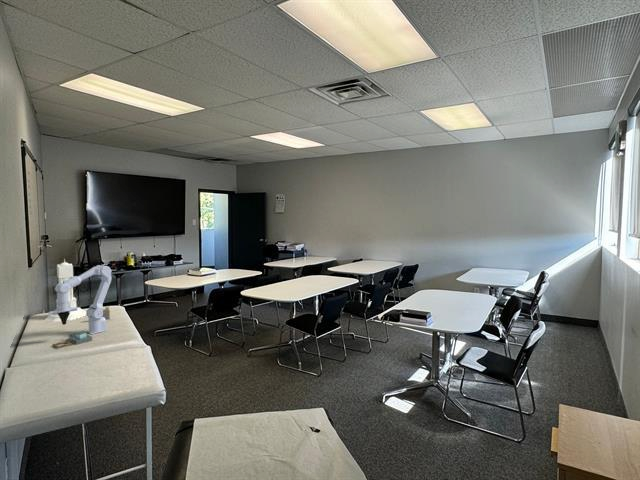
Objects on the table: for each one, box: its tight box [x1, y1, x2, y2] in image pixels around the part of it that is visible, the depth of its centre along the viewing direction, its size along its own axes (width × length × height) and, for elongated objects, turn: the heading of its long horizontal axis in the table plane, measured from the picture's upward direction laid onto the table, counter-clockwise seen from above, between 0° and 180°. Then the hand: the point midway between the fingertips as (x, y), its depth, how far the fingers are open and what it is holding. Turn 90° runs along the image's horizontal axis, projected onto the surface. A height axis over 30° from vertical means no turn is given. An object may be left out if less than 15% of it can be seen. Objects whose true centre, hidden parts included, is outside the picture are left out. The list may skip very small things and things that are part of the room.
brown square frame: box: [52, 340, 73, 350], centre depth 213 cm, size 7×7×1 cm
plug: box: [75, 330, 88, 339], centre depth 221 cm, size 4×4×6 cm
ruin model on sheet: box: [102, 306, 111, 321], centre depth 264 cm, size 11×3×10 cm, turn 124°
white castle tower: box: [44, 258, 87, 323], centre depth 273 cm, size 28×28×45 cm
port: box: [67, 330, 93, 345], centre depth 222 cm, size 8×13×4 cm, turn 53°
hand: (64, 324), depth 222 cm, fingers closed
